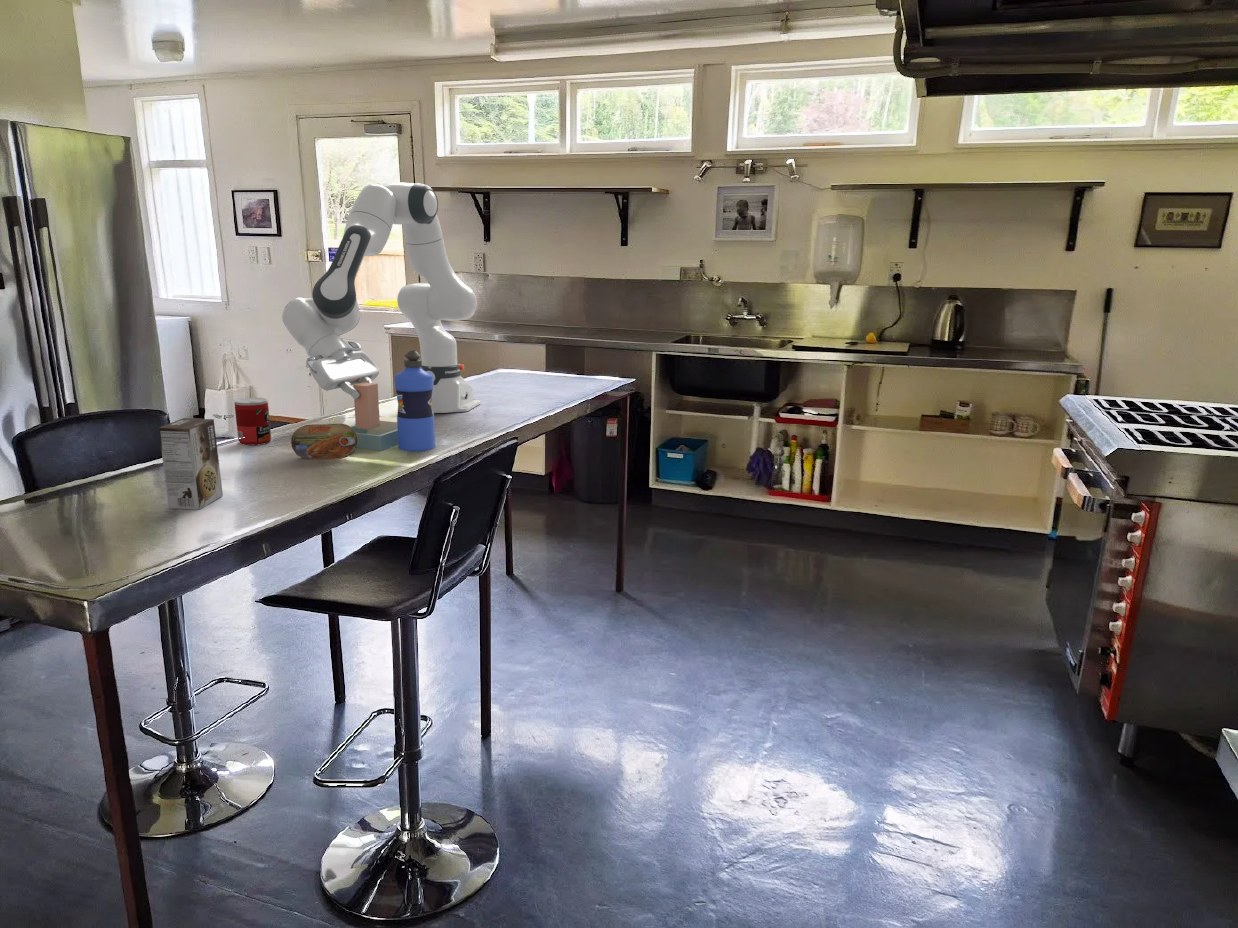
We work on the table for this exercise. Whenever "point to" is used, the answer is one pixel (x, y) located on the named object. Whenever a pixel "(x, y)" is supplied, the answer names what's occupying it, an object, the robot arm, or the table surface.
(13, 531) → the table surface
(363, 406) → the salmon brown rectangular block
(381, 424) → the beige rectangular block
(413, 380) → the water bottle
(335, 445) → the tin
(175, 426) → the cookie box
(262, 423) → the canned food
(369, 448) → the tote
